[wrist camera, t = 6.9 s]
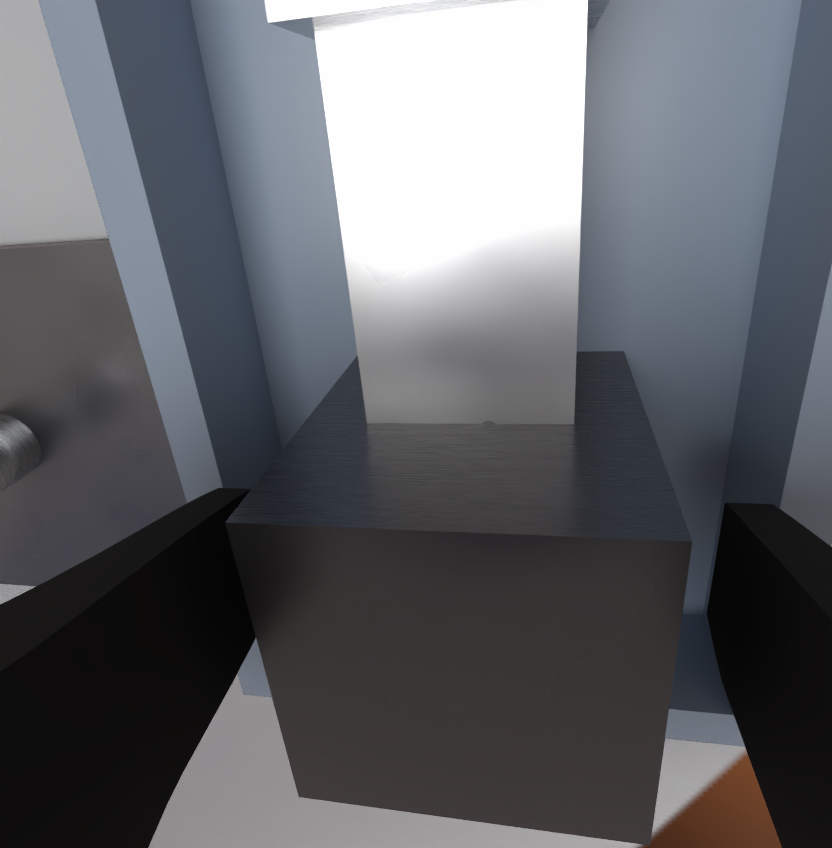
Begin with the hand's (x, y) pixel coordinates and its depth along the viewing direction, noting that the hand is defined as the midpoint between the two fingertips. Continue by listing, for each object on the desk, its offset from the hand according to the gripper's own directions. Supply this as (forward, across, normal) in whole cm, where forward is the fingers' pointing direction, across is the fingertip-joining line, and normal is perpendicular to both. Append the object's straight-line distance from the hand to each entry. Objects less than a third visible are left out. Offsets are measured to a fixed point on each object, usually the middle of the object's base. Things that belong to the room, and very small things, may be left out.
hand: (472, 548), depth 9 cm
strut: (+3, 0, -3) cm, 4 cm away
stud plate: (+4, +12, 0) cm, 12 cm away
